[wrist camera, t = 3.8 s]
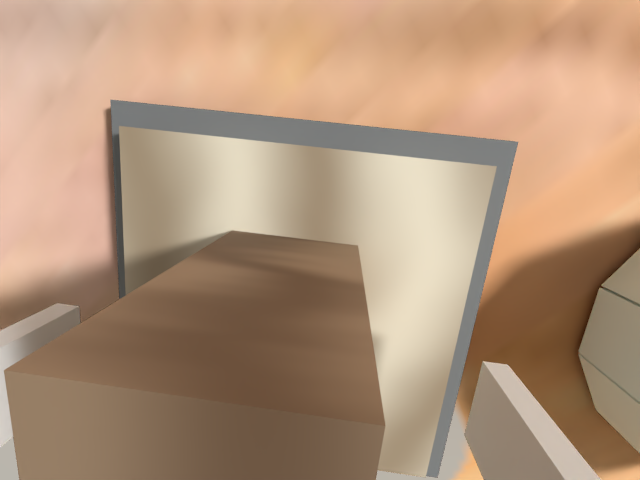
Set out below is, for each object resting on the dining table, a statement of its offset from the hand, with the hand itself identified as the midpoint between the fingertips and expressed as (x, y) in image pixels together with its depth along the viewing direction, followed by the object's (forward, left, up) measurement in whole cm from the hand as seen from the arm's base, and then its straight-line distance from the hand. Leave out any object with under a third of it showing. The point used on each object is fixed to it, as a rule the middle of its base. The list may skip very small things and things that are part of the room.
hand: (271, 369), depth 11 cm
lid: (0, 0, -4) cm, 4 cm away
